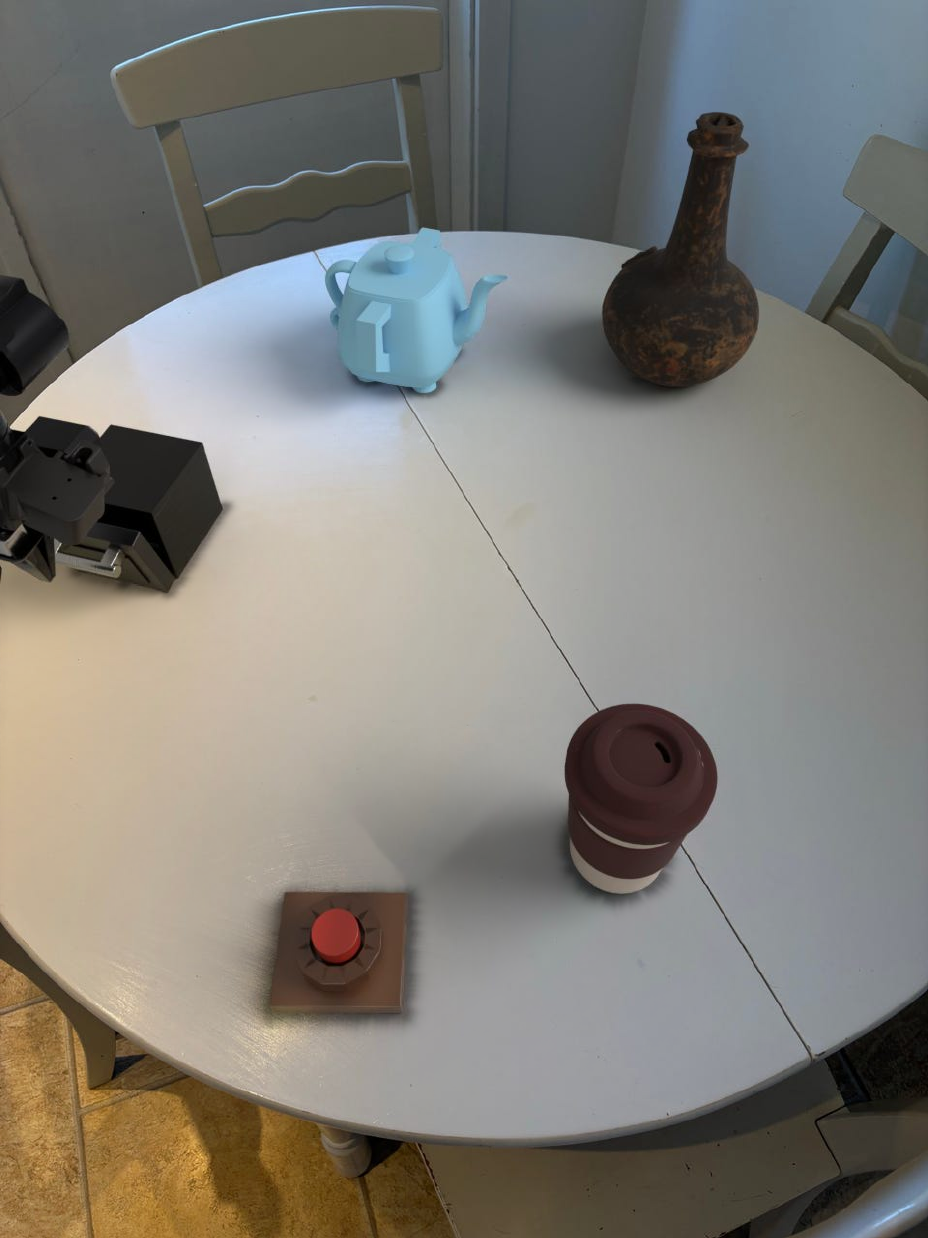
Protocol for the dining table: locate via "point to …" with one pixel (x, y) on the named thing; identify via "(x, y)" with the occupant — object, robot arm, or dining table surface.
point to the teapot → (405, 312)
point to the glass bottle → (688, 278)
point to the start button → (336, 935)
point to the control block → (351, 984)
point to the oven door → (116, 557)
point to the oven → (160, 492)
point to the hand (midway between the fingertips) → (48, 578)
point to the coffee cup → (634, 793)
